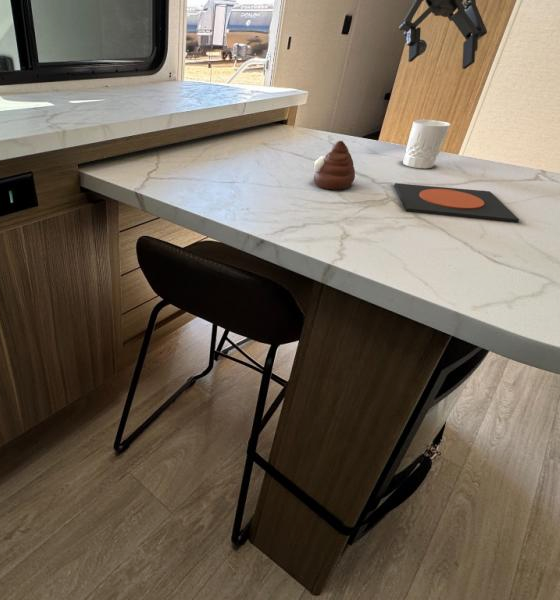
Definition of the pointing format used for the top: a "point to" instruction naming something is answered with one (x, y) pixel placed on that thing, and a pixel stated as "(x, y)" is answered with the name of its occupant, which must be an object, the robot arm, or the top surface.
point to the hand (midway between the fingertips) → (441, 61)
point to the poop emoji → (335, 168)
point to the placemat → (453, 202)
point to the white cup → (425, 143)
